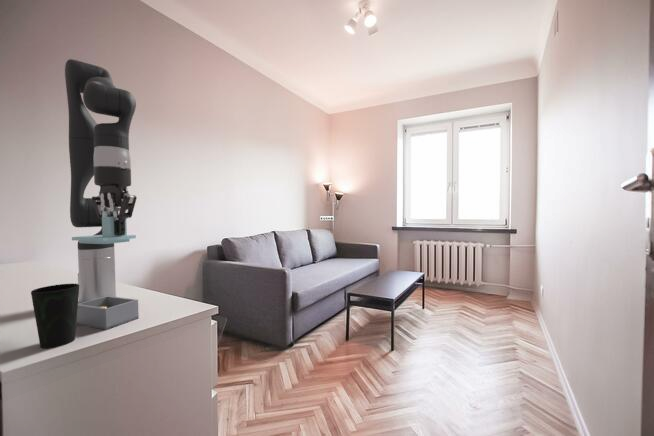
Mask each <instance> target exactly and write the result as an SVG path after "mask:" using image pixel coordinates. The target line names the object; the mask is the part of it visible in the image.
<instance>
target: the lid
mask: <svg viewBox="0 0 654 436" xmlns="http://www.w3.org/2000/svg"><path fill="white" fill-rule="evenodd" d="M114 221H116V220H114V217H102V227H101V228H102V235H95V234H93V235H81V236H72V237H71V240H72V241H79V243H89V244H111V243H114V244H118V243H119V244H120V243H127V242H130V240H131V239H132V240H133V239H137V237H136V234H127V233H128V232H127V231H128V230H127V229H128V228H127V219H126V220H125V234H124V235H119V236H116V235H115V234H114Z"/></svg>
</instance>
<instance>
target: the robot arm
mask: <svg viewBox="0 0 654 436" xmlns="http://www.w3.org/2000/svg"><path fill="white" fill-rule="evenodd" d="M64 78H65V88H66V89H65V90H66V97H67V98H66V99H67V107H68V110H67V111H68V152H69V155H68V156H69V164H70V165H69V167H70V199H69V200H70V201H69V202H70V203H69V204H70V205H69V215H70V217H69V218H70V222H71V224H72V226H73V227H75V228H100V227H101V229H100V230H99V231H98V232H97V233H95V234H94V235H102V217H114V220H116V221H114V234H115V235H116V236H119V235H124V234H125V220H126V221H127V219H128V218H129V219H131V218H132V216H133V212H134V209H135V206H136V203H137V202H136V201H137V195H134V194H130V193H129V189H128V187H130V186H132V168H131V167H132V165H131V164H132V163H131V162H132V161H131V156H130V142H129V141H130V138H129V137H130V129H131V128H130V127H131V124H132V120H133V118H134V115H135V112H136V108H137V101H136V99H135V97H134V95H133V94H132V93H131V92H130V91H129V90H125V89H122V88H117V87H116V86H115V85H114V83H113V79H112V75H111V74H110V72H109V71H108V70H107V69H106V68H103V67H101V66H99V65H95V64H91V63H88V62H84V61H81V60H78V59H77V60H76V59H72V58H70V59H68V60H66V62H65V65H64ZM81 94H82V95H81ZM88 110H89V111H91V113H94V114H98V115H105V116H108V117H109V116H110V117H115V118H118V121H116V122H105V123H104V122H102V123H97V121H96V120H95V119H94V118H93V117H92V115H91V113H90V112H89V111H88ZM92 178H94V179H93V181H94V185H95V186H98V187H99V191H98V195H97V196H95V195H94V196H92V197H84V194H85V191H86V189H87V186H88V185H89V183H90V181H91V180H92ZM77 241H78V240H77ZM115 257H116V255H115V243H111V244H89V243H79V241H78V242H77V263H78V273H77V284H79V297H78V303H83V302H87V301H90V300H94V299H98V298H102V297H106V296H112V297H117V290H116V289H117V287H116V286H117V285H116V282H117V281H116V258H115Z"/></svg>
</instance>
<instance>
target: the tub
mask: <svg viewBox="0 0 654 436" xmlns="http://www.w3.org/2000/svg"><path fill="white" fill-rule="evenodd" d="M139 315H140V314H139V299H135V298H128V297H127V298H126V297H119V296H116V297H112V296H106V297H102V298H98V299H94V300H90V301H87V302H83V303H80V302H78V309H77V322H76V326H77V325H79V326H83V327H89V328H94V329H99V330H105V331H108V330H110V329H113V328H117V327H119V326H121V325H124V324H128V323H129V322H133V321H135V320H137V319H139Z"/></svg>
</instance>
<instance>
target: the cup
mask: <svg viewBox="0 0 654 436" xmlns="http://www.w3.org/2000/svg"><path fill="white" fill-rule="evenodd" d="M30 295H31V300H32V301H31V302H32V306H33V311H34V312H33V313H34V319H35V324H36V330H37V337H38V341H39V347H40V348H41V349H53V348H54V349H55V348H59V347H62V346H64V345H65V346H66V345H68V344H70V343H72V342H74V341H75V340H76V334H77V332H76V331H77V324H76V322H77V309H78V304H79V284H78V283H61V284H53V285H47V286H43V287H39V288H35V289H32V290H31V291H30Z"/></svg>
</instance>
